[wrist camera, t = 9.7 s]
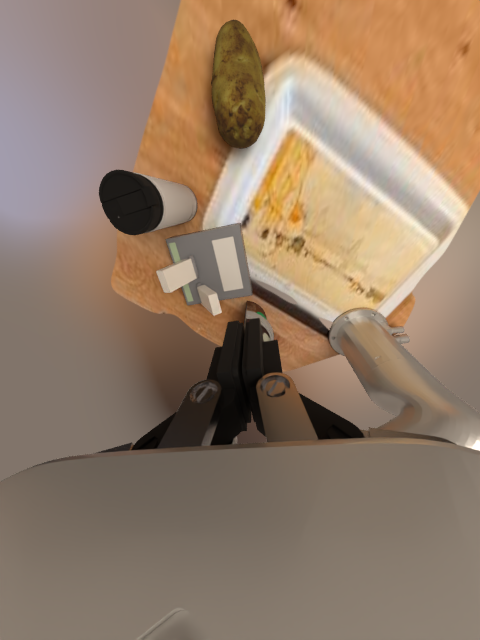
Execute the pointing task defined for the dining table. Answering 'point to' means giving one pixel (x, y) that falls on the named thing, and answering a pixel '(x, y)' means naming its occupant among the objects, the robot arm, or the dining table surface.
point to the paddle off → (209, 299)
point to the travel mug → (145, 202)
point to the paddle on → (178, 274)
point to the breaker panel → (214, 261)
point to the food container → (258, 312)
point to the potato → (238, 86)
